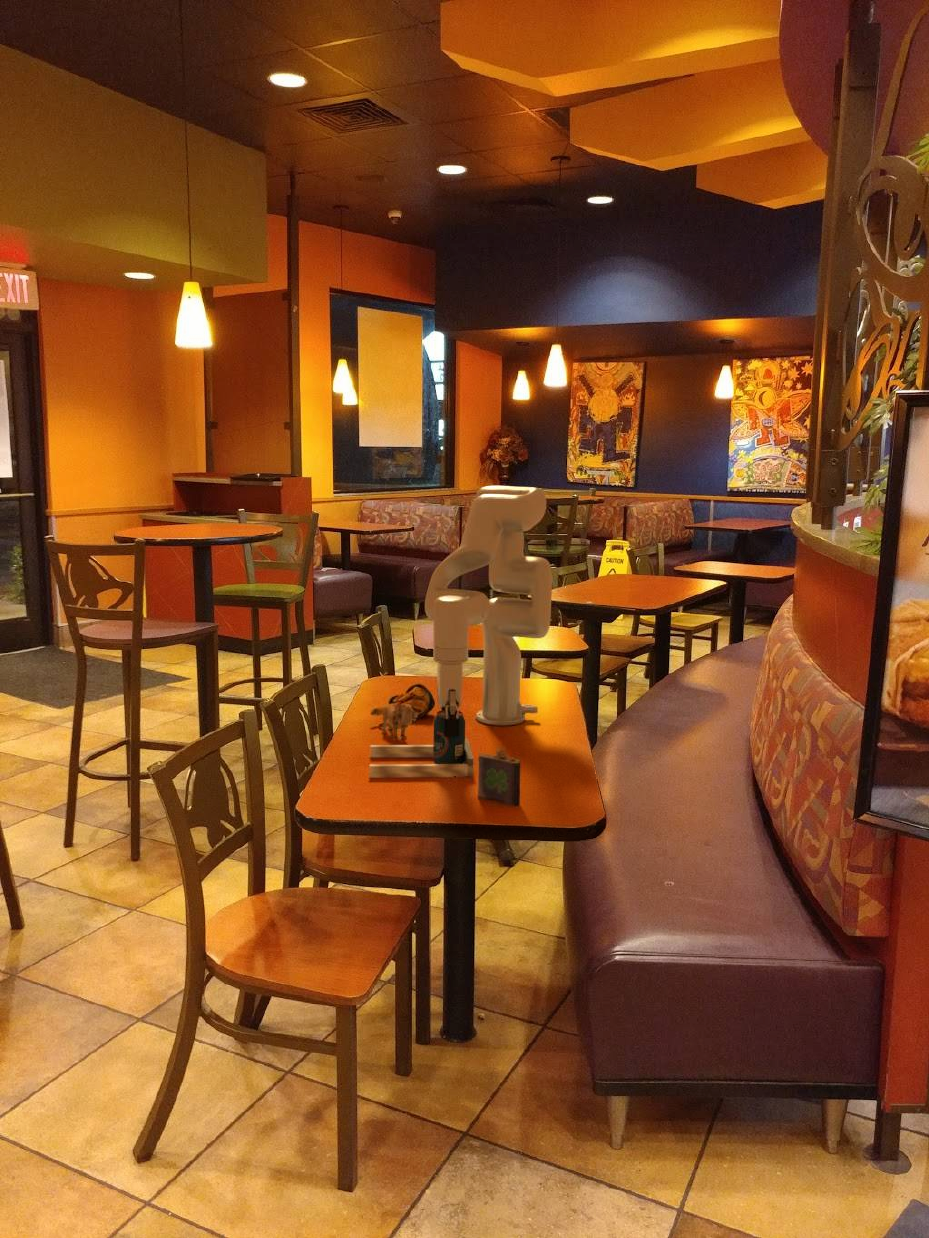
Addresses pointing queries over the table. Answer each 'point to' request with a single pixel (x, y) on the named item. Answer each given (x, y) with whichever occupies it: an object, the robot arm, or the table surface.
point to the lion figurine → (398, 719)
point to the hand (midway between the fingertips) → (450, 728)
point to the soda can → (448, 742)
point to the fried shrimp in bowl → (411, 701)
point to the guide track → (417, 769)
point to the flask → (499, 778)
